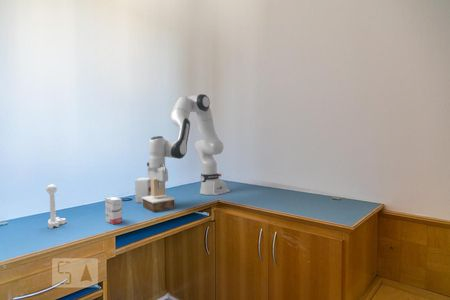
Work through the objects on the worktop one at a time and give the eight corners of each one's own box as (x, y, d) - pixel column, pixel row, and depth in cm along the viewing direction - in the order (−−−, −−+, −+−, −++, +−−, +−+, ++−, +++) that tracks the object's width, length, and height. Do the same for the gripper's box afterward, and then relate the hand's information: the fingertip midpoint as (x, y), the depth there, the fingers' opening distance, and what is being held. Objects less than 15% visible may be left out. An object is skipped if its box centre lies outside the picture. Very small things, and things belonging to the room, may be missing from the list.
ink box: (123, 222, 145) (122, 198, 144) (113, 224, 141) (112, 200, 141) (114, 218, 151) (113, 196, 150) (105, 221, 147) (104, 198, 146)
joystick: (49, 222, 146) (47, 183, 145) (66, 220, 150) (64, 181, 148) (47, 229, 136) (45, 186, 135) (65, 226, 140) (63, 185, 138)
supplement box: (148, 203, 182) (147, 179, 181) (135, 202, 184) (134, 179, 183) (154, 200, 191) (153, 177, 190) (141, 199, 193) (141, 177, 192)
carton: (162, 193, 175) (161, 177, 175) (165, 194, 172) (165, 178, 171) (151, 195, 171) (150, 178, 170) (154, 196, 168) (153, 179, 167)
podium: (163, 203, 183) (163, 193, 182) (175, 208, 170) (175, 198, 170) (141, 206, 174) (141, 197, 174) (153, 212, 161) (153, 202, 161)
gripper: (170, 165, 164) (171, 189, 165) (155, 162, 180) (155, 184, 181) (160, 166, 160) (161, 190, 161) (145, 163, 176) (146, 185, 177)
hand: (158, 187), depth 171 cm, fingers closed on carton, 4 cm apart
